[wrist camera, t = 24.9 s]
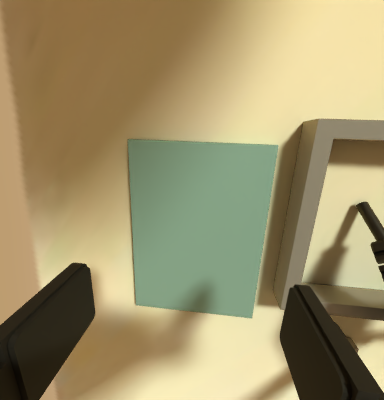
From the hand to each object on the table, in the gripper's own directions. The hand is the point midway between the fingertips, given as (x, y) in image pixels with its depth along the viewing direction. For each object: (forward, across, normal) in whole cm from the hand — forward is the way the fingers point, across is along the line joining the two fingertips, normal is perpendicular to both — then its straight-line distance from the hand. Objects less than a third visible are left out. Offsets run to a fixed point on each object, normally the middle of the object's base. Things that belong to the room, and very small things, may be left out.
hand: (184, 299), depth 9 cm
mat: (+7, 0, 0) cm, 7 cm away
